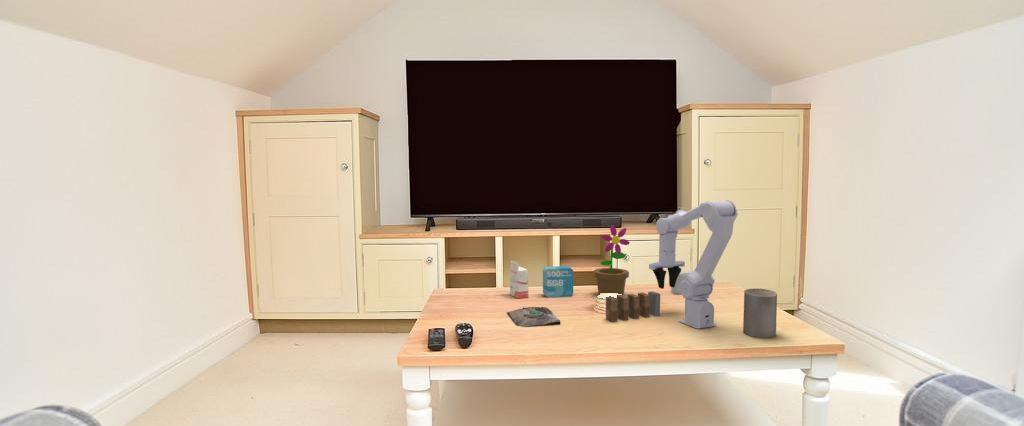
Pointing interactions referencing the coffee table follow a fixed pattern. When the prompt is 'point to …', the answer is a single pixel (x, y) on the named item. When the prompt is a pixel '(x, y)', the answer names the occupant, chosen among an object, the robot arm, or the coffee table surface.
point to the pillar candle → (760, 313)
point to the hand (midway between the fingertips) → (666, 287)
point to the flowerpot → (611, 277)
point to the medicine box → (679, 282)
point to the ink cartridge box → (518, 281)
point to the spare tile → (654, 303)
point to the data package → (558, 281)
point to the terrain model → (533, 317)
